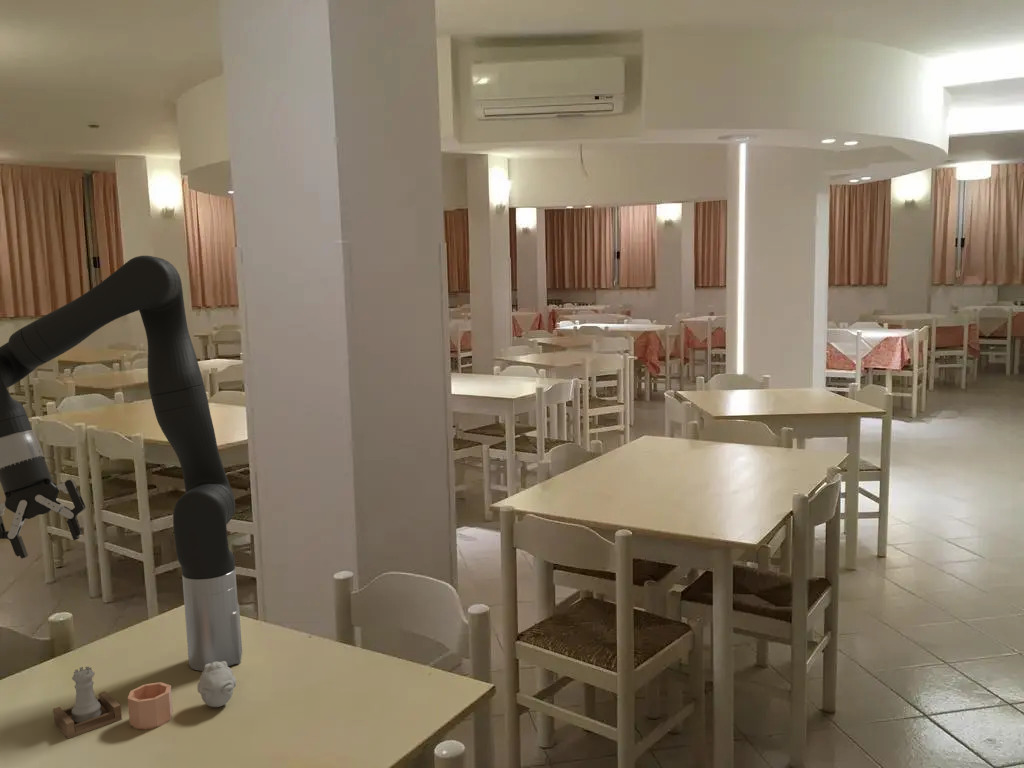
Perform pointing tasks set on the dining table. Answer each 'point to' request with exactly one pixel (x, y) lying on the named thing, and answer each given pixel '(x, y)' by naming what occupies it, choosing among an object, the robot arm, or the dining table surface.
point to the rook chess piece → (85, 696)
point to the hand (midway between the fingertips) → (51, 548)
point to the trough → (108, 715)
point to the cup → (150, 705)
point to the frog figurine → (216, 684)
